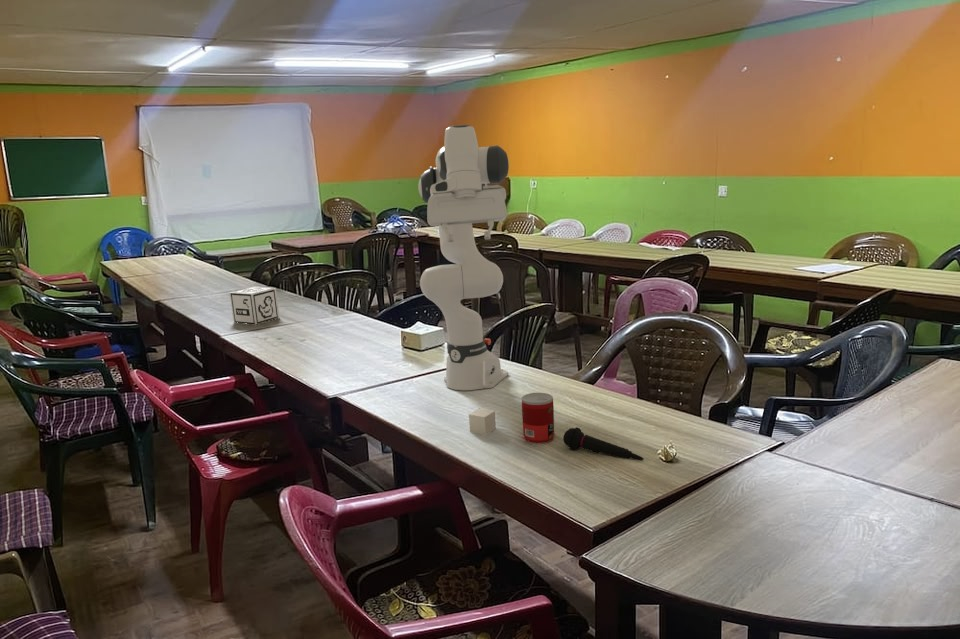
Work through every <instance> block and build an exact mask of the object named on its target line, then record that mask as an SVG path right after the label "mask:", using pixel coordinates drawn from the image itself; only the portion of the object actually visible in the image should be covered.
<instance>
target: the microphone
mask: <svg viewBox="0 0 960 639" xmlns="http://www.w3.org/2000/svg"><path fill="white" fill-rule="evenodd" d="M562 440H563V443H564V445H565V446H567V448H569V449H570V450H571V451H575V450H580V449H581V448H582V449H583V450H586V451H591V452H592V453H593V454H603V455H606V456H607V455H608V456H612V457H617V458H621V459H628V460H630V459H632V460H637V461H644V459H645V458H644V457H643V456H640V455H639V454H637V453H634V452H633V451H631V450H629V449H628V448H625V447H622V446H619V445H616V444H613V443H611V442H608V441H605V440H602V439H599V438H596V437H594V436H591V435H588V434H584V432H583V431H582V429H581V428H580V427H577V426H576V427H575V428H574V427H570V428H569V429H567V430H566V431H565V432H564V434H563V438H562Z"/></svg>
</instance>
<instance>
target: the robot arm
mask: <svg viewBox="0 0 960 639" xmlns="http://www.w3.org/2000/svg"><path fill="white" fill-rule="evenodd" d="M443 143H444V145H443V146H442V147H441V148H439V150H438V151H437V154H436V156H435V166H436V167H432V165H431V166H429V168H428V169H427V170H425V171H424V172H422V174H421V175H420V178H419V180H418V186H417V187H418V188H417V189H418V193H419V195H420V197H421V200H422V201H423V202H424V203H426V204H427V207H426V208H427V210H426V216H427V224H428V225H429V226H430V227H438V234H439V235H438V236H439V243H440V245H439V246H440V251H441V254H442V255H443V257H444V258H445V259H446V260H447V261H448V262H451V263H452V264H440V265H435V266H431V267H428V268H426V269H425V270H423V271H422V274H421V276H420V280H419V286H420V289H421V292H422V294H423V295H424V297H426V298H427V299H428V300H429V301H431V302H432V303H434V304H435V305H436V306H437V307H438V309H439V310H440V311H441V312H442V315H443V318H444V321H445V323H446V324H445V325H446V330H447V339H448V340H447V342H446V350H447V354H448V356H446V363H445V364H446V366H445V367H446V368H445V373H446V374H445V376H444V377H443V378H444V379H443V380H444V382H445V386H446V387H447V388H449V389H450V390H454V391H455V390H456V391H474V390H475V391H476V390H480V389H481V390H482V389H492V388H494V387H495V386H496V385H498V384H499V383H500V382H502V381H503V380H504V379H505V378H506V377H508V375H509V371H508V370H506V369H502V368H501V366H502V365H501V360H500V358H499V357H498V356H497V355H495V354H494V353H493V352H491V351H490V350H488V346H489V345H490V346H491V343H492V341H491V338H486V337H485V338H484V336H483V335H484V333H483V332H484V331H483V320H482V316H481V315H480V314H479V312H478V311H475V310H473V309H470V308H469V307H466V306H464V305H463V304H462V303H461V301H462V300H465V299H467V300H468V299H478V298H479V299H480V298H485V297H490V296H493V295H495V294H496V295H497V294H498V293H499V292H500V291H501V289H502V286H503V283H504V275H503V272H502V270H501V268H500V267H499V266H498V265H497V264H496V263H495V262H492V261H490V260H489V259H487V258H486V257H484V256H483V255H482V254H481V253H480V251H479V249H478V247H477V245H476V240H475V235H474V228H473V224H478V223H482V224H483V223H487V226H488V230H487V231H484V232H483V235H484V240H486V241H487V240H491V232H492V230H493V228H494V225H495V223H494V222H504V221H505V220H506V218H507V217H508V212H507V205H506V199H507V191H506V188H505V187H504V186H502V185H500V184H502V182H503V181H505V179H506V178H507V177H508V175H509V170H510V169H509V168H510V163H509V157H508V154H507V151H505V149H504V148H503V147H501V146H500V145H497V144H496V145H490V146H480V147H479V144H478V138H477V134H476V130H475V128H474V126H472V125H469V124H455V125H450V126H448V127H447V128H445V131H444V142H443ZM488 184H489V185H488Z"/></svg>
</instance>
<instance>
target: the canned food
mask: <svg viewBox="0 0 960 639" xmlns="http://www.w3.org/2000/svg"><path fill="white" fill-rule="evenodd" d="M554 414H555V410H554V397H553V395H552V394H549V393H546V392H530V393H527V394H524V395H522V397H521V416H522V418H521V419H522V433H523V434H522V435H523V438H524V440H525V441H526V442H528V443H532V444H545V443H549V442H551V441H553V440H554V438H555V415H554Z"/></svg>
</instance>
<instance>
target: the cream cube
mask: <svg viewBox="0 0 960 639" xmlns="http://www.w3.org/2000/svg"><path fill="white" fill-rule="evenodd" d="M468 420H469V422H468V423H469V432H470V433H475V434H479V435H484V436H486V435H488V434H490V433H491V432H493V431H494V430H496V429H497V424H496V423H497V422H496V411H495V410H492V409H486V408H477V409H476V410H474V411H471V412H470V413H469V414H468Z"/></svg>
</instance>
